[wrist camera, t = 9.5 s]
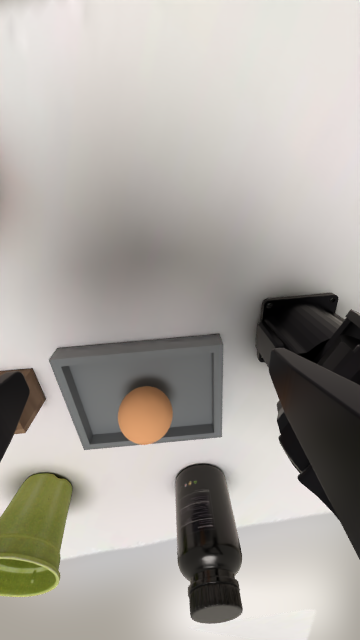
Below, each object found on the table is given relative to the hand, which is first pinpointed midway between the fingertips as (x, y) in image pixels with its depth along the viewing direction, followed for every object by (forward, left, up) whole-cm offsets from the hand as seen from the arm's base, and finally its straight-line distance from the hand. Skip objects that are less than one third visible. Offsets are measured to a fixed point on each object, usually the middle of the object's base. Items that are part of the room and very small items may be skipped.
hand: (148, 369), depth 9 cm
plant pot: (+18, +27, -12) cm, 34 cm away
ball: (+2, +12, -9) cm, 15 cm away
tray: (+3, +12, -12) cm, 17 cm away
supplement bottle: (-2, +28, -12) cm, 31 cm away
